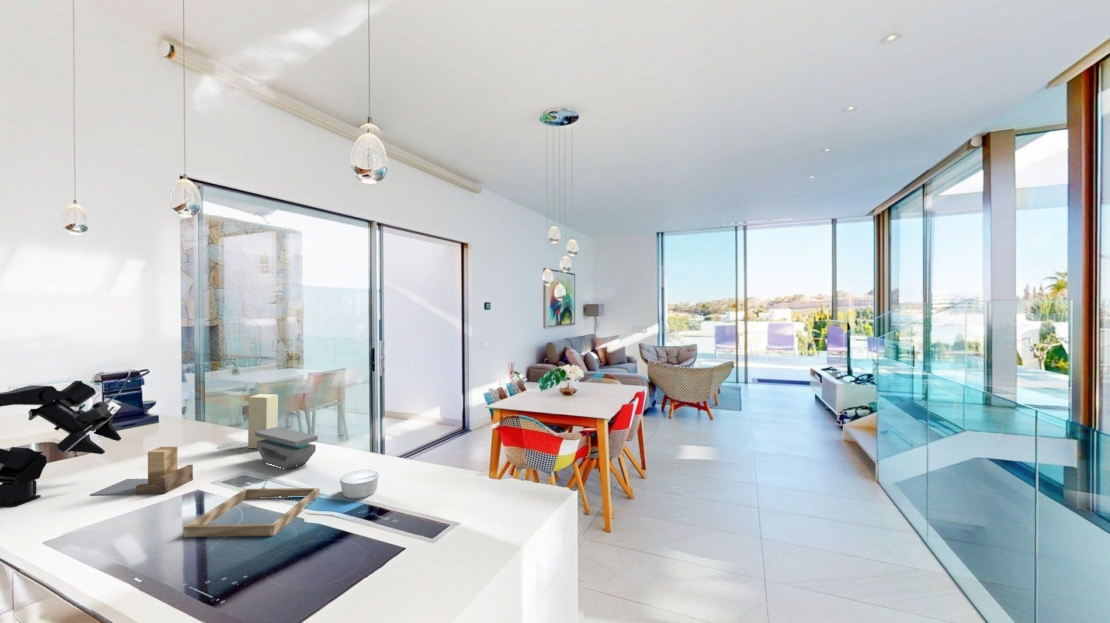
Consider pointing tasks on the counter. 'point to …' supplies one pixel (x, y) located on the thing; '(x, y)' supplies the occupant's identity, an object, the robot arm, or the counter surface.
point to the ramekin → (359, 483)
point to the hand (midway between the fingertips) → (112, 446)
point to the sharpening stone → (285, 447)
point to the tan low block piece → (168, 481)
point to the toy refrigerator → (261, 416)
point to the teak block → (161, 463)
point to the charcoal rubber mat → (122, 487)
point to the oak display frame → (203, 530)
